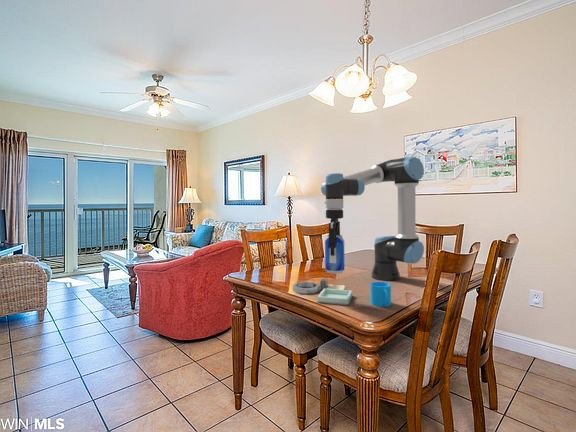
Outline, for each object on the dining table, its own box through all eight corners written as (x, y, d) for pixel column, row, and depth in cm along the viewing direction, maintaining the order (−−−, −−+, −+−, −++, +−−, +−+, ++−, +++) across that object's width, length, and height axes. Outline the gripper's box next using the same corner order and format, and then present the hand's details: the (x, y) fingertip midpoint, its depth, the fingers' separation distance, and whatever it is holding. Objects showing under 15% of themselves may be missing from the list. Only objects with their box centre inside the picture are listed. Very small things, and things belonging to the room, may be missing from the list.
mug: (367, 300, 135) (367, 282, 134) (386, 300, 136) (386, 281, 135) (378, 310, 123) (378, 290, 123) (398, 309, 124) (398, 289, 123)
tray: (352, 296, 142) (352, 290, 142) (348, 305, 129) (348, 299, 129) (323, 293, 146) (323, 288, 146) (317, 302, 134) (317, 296, 133)
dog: (328, 289, 153) (328, 279, 153) (326, 291, 149) (326, 281, 149) (322, 288, 154) (322, 278, 153) (320, 291, 150) (320, 280, 150)
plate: (345, 290, 152) (345, 285, 152) (343, 295, 144) (343, 290, 144) (328, 289, 154) (328, 284, 154) (326, 294, 146) (326, 289, 146)
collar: (321, 287, 156) (321, 282, 156) (315, 294, 144) (315, 289, 144) (297, 285, 160) (297, 281, 160) (290, 292, 148) (290, 287, 148)
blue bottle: (345, 270, 140) (345, 234, 139) (342, 274, 132) (342, 236, 131) (327, 269, 142) (327, 234, 142) (323, 273, 134) (323, 236, 134)
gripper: (330, 208, 147) (330, 256, 148) (320, 210, 127) (321, 265, 128) (346, 208, 144) (346, 257, 146) (339, 210, 124) (339, 266, 126)
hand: (334, 260), depth 137 cm, fingers closed on blue bottle, 8 cm apart
